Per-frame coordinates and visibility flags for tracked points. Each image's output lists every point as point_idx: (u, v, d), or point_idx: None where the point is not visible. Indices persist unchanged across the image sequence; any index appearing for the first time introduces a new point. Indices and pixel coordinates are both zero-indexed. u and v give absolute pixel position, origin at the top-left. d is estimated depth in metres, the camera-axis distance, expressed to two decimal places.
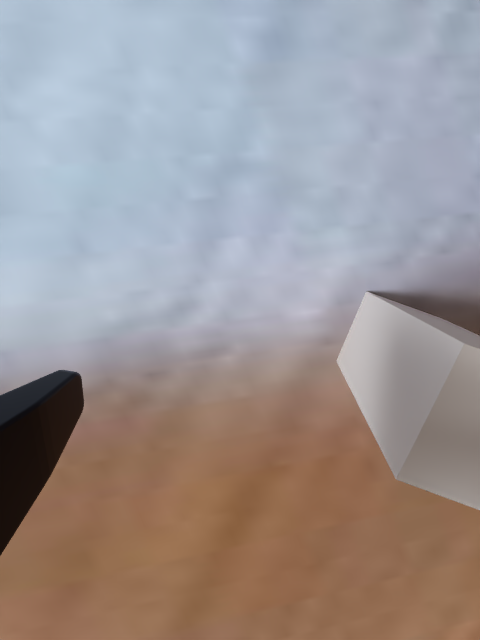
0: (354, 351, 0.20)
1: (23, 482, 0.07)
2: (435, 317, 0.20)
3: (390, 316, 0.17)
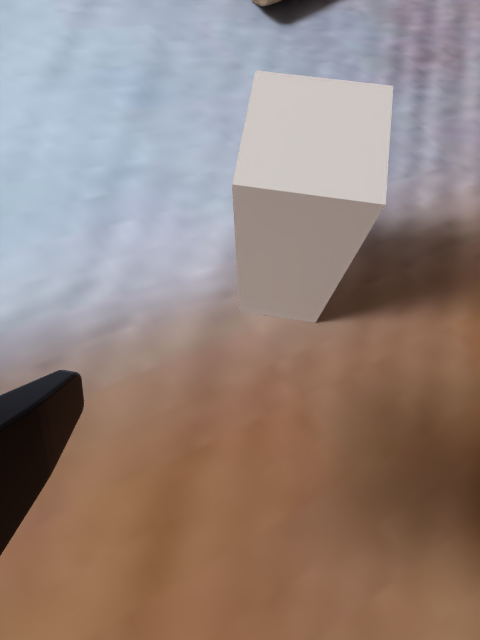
0: None
1: (23, 482, 0.07)
2: None
3: None
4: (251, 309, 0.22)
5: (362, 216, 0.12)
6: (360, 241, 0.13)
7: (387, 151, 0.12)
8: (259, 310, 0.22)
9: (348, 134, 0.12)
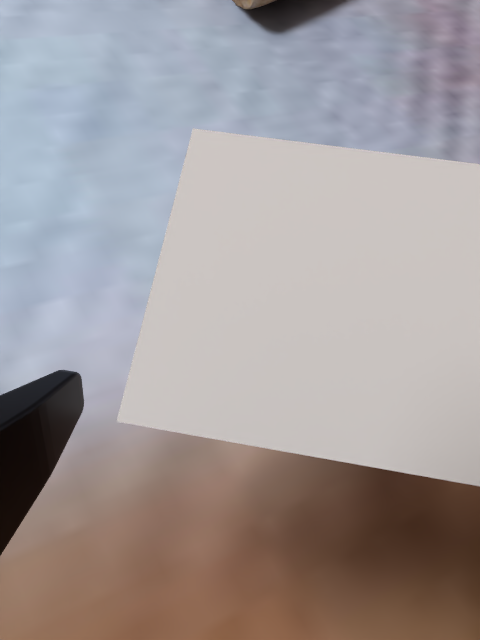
0: None
1: (23, 482, 0.07)
2: None
3: None
4: None
5: None
6: None
7: None
8: None
9: (397, 285, 0.05)
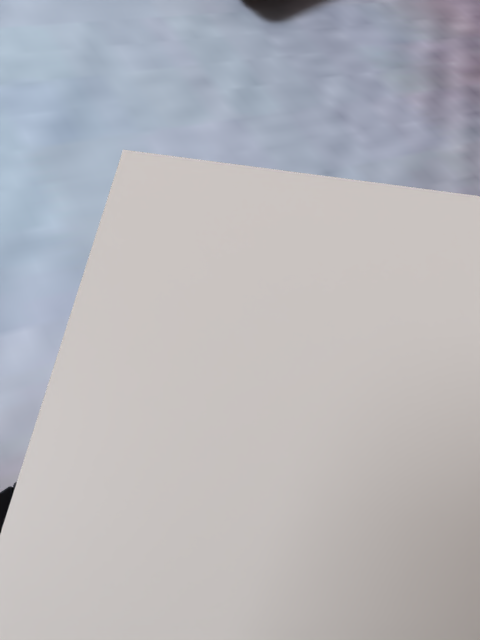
0: None
1: None
2: None
3: None
4: None
5: None
6: None
7: None
8: None
9: None
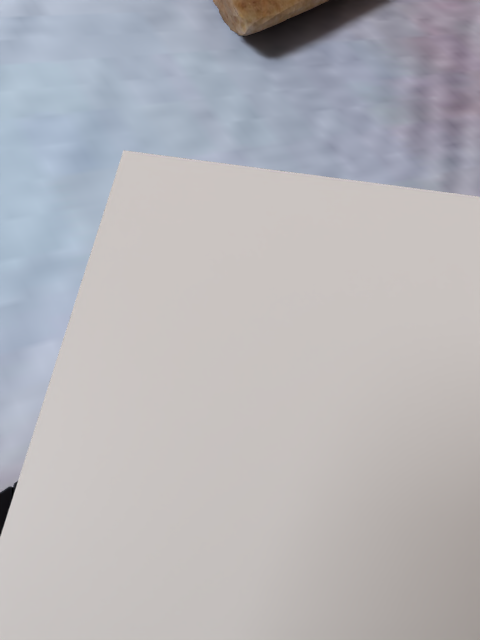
0: None
1: None
2: None
3: None
4: None
5: None
6: None
7: None
8: None
9: None
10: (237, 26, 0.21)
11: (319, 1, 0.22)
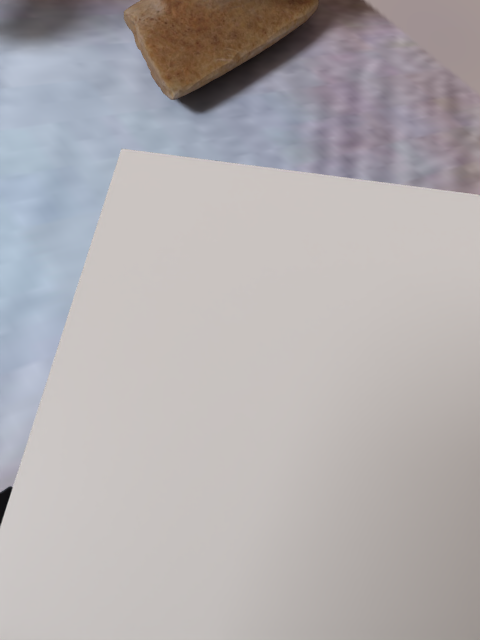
0: None
1: None
2: None
3: None
4: None
5: None
6: None
7: None
8: None
9: None
10: (166, 92, 0.26)
11: (232, 66, 0.27)
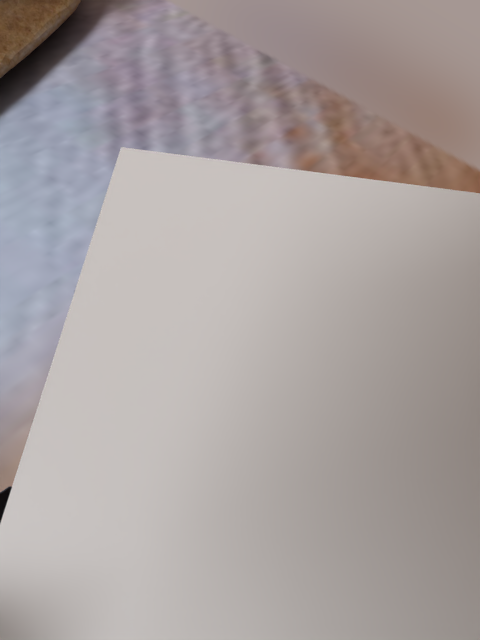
0: None
1: None
2: None
3: None
4: None
5: None
6: None
7: None
8: None
9: None
10: None
11: (5, 69, 0.27)
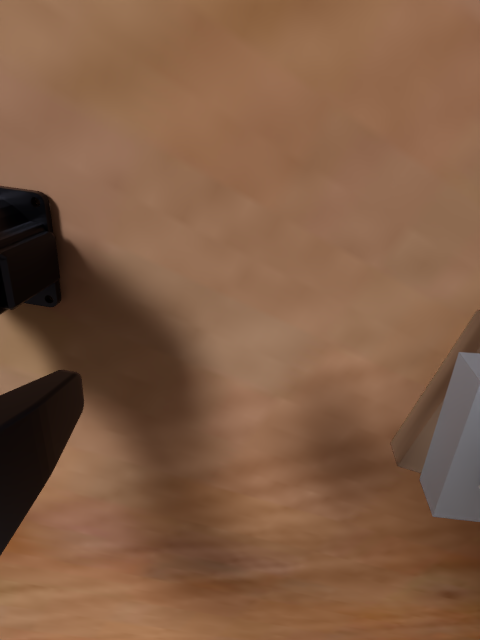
0: None
1: (23, 482, 0.07)
2: None
3: None
4: None
5: None
6: None
7: None
8: None
9: None
10: None
11: None
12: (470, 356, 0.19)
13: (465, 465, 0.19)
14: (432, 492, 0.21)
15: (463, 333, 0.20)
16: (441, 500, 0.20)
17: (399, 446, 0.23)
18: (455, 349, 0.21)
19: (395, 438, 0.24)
